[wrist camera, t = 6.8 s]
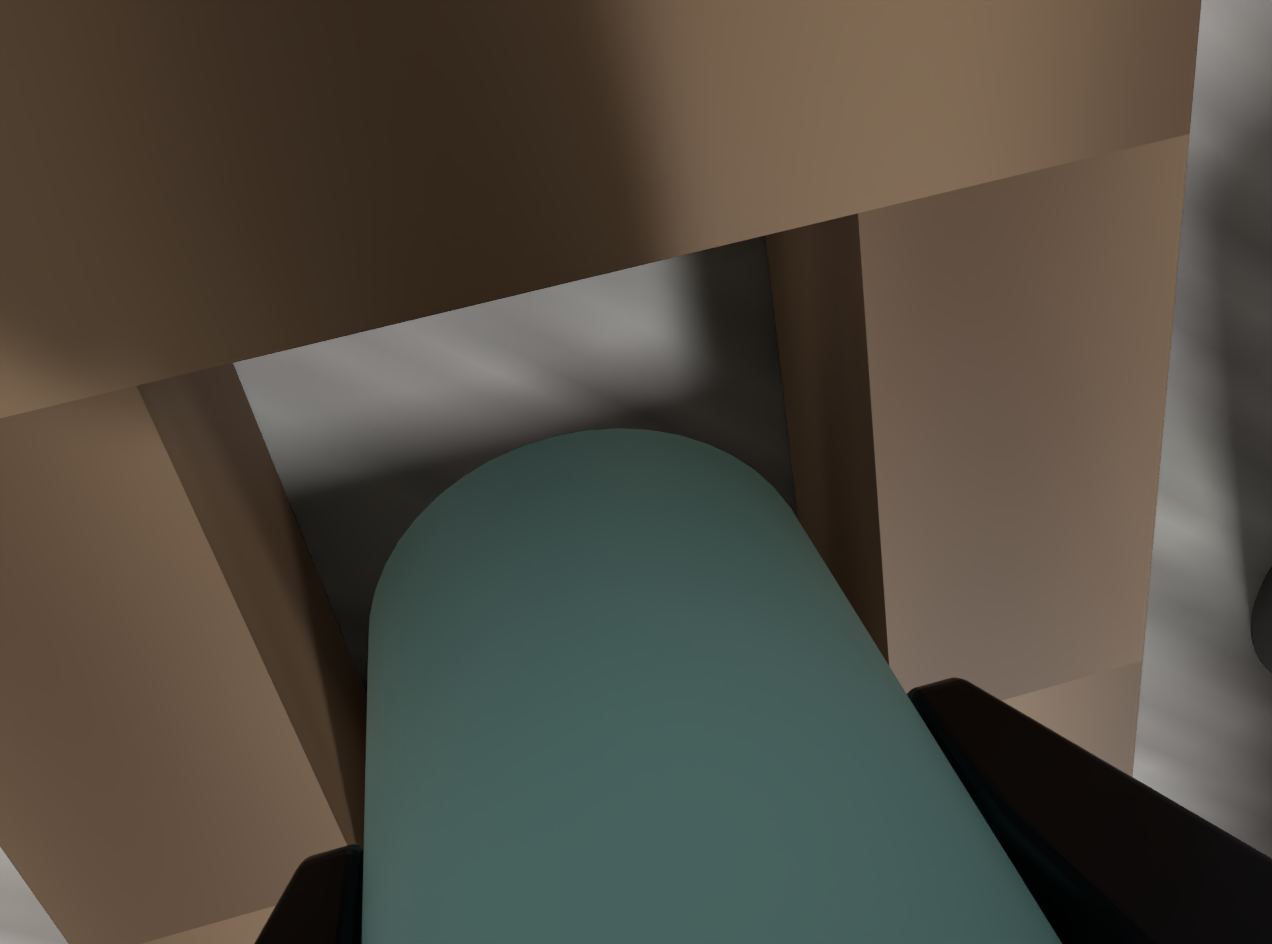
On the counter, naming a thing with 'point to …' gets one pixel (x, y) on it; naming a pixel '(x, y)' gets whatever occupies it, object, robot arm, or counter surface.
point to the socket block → (523, 262)
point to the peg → (651, 725)
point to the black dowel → (1263, 623)
